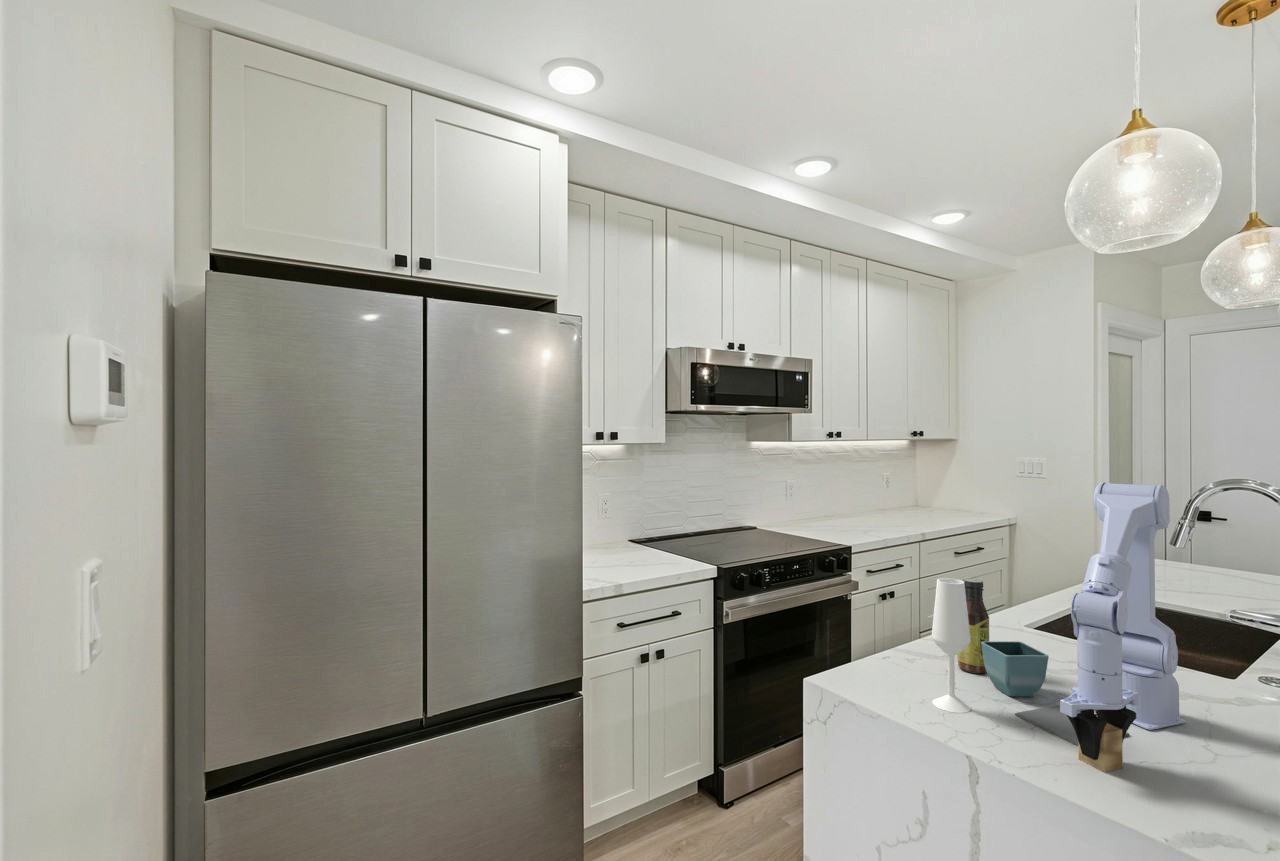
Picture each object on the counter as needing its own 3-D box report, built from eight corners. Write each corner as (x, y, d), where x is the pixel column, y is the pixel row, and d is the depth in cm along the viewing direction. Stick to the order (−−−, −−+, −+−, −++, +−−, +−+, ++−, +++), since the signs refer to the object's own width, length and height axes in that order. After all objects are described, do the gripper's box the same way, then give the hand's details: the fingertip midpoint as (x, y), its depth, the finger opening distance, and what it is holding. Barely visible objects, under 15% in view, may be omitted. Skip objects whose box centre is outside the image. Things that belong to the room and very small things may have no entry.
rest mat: (1062, 706, 117) (1062, 704, 117) (1129, 735, 106) (1129, 733, 106) (1015, 715, 114) (1015, 712, 114) (1078, 746, 102) (1078, 743, 102)
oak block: (1096, 755, 99) (1096, 718, 99) (1122, 768, 95) (1122, 729, 96) (1078, 759, 98) (1078, 721, 98) (1104, 772, 94) (1103, 733, 94)
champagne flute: (932, 695, 122) (932, 575, 123) (970, 702, 119) (970, 579, 120) (931, 708, 117) (930, 582, 117) (971, 715, 113) (970, 586, 114)
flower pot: (1021, 683, 128) (1020, 640, 129) (1050, 701, 120) (1050, 655, 120) (980, 683, 128) (979, 641, 128) (1006, 701, 119) (1006, 656, 119)
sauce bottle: (987, 677, 131) (986, 585, 132) (955, 670, 135) (954, 581, 135) (991, 668, 137) (990, 579, 137) (960, 662, 140) (960, 575, 141)
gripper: (1106, 655, 103) (1107, 735, 103) (1041, 664, 99) (1042, 749, 98) (1152, 670, 96) (1153, 756, 96) (1085, 681, 92) (1085, 772, 92)
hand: (1100, 754), depth 97 cm, fingers closed on oak block, 4 cm apart
